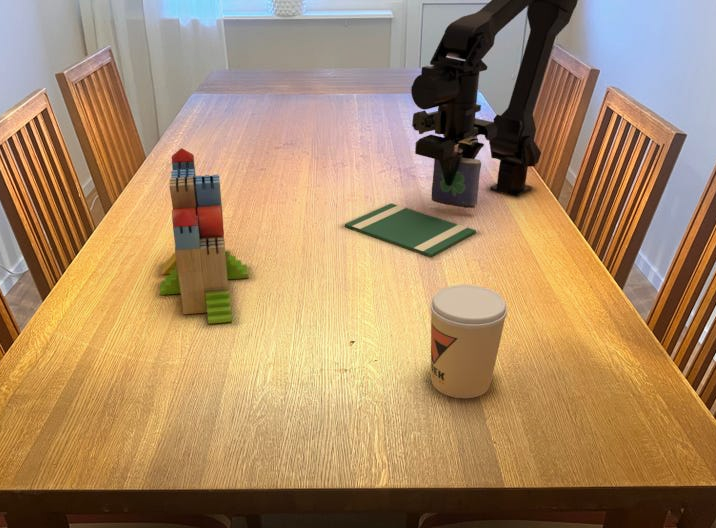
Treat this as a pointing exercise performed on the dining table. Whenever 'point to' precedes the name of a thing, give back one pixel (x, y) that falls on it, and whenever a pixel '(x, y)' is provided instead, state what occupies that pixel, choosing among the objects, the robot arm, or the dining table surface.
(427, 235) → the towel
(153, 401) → the dining table surface
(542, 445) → the dining table surface
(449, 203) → the flask
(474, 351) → the coffee cup
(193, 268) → the block set
